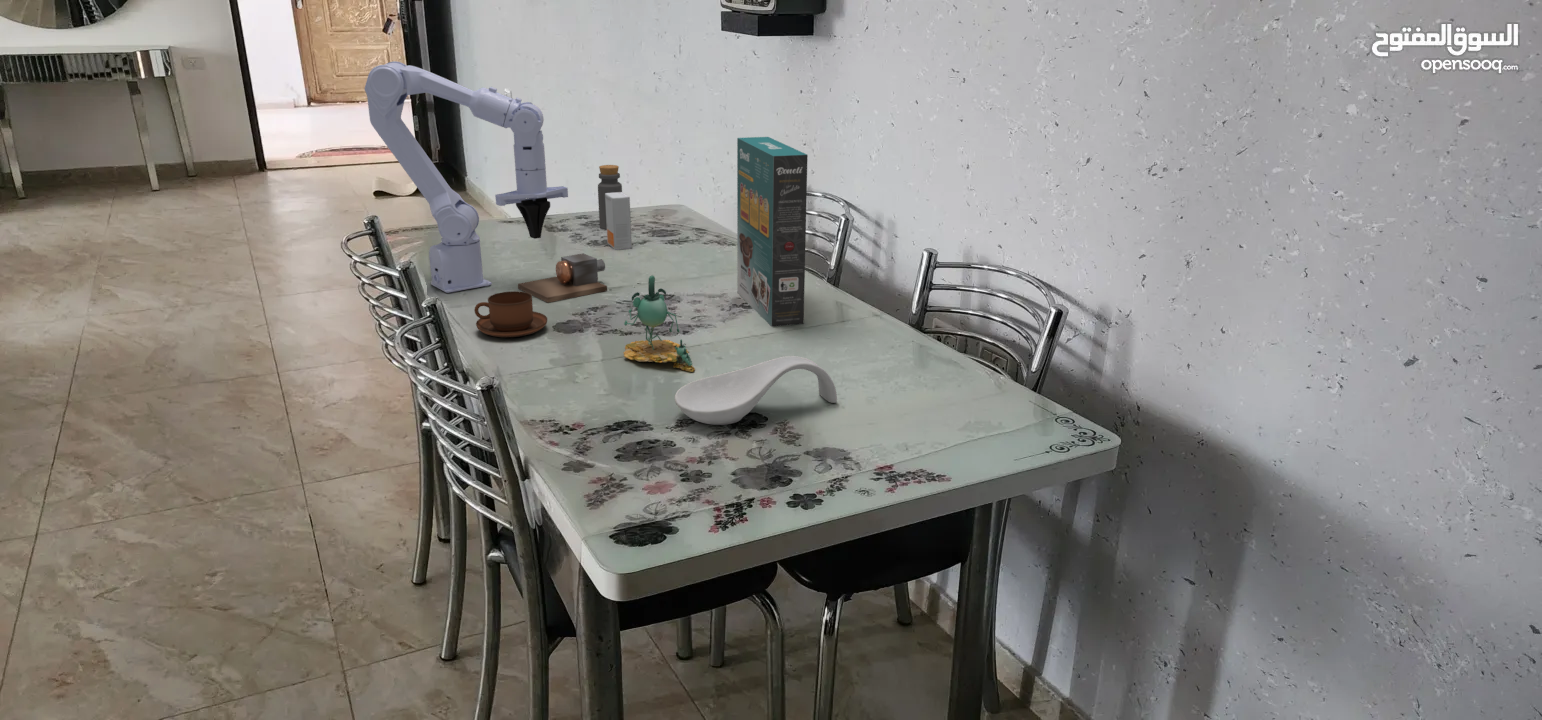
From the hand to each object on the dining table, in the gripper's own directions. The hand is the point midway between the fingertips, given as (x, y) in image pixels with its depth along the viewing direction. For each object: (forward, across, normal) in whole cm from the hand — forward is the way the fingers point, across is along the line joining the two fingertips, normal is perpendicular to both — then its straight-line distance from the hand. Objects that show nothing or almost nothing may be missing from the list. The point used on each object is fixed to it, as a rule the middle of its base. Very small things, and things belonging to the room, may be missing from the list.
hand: (535, 237), depth 200 cm
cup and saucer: (+10, -18, -24) cm, 31 cm away
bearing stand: (+9, +2, -7) cm, 12 cm away
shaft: (+8, +6, -7) cm, 12 cm away
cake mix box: (+10, +26, -41) cm, 49 cm away
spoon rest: (+10, -7, -77) cm, 78 cm away
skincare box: (+10, +29, +16) cm, 34 cm away
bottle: (+10, +38, +34) cm, 52 cm away
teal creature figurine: (+10, -6, -51) cm, 52 cm away
